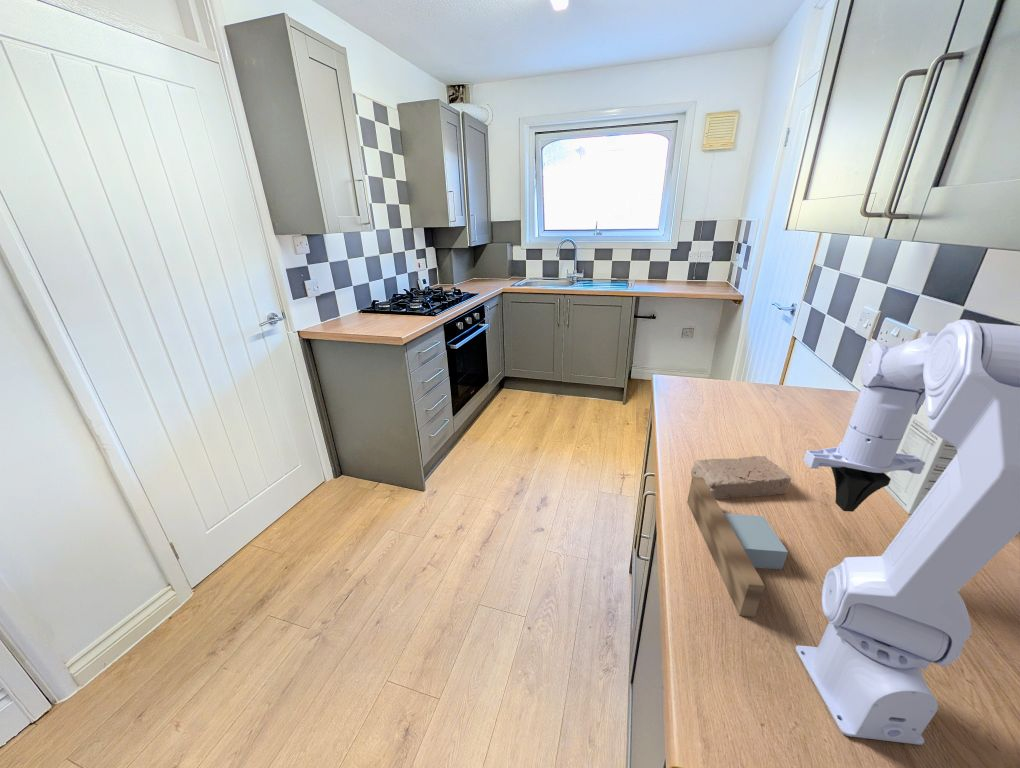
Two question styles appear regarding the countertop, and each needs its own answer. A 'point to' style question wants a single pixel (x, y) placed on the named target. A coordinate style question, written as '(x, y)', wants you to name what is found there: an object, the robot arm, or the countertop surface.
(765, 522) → the grey block
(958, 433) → the robot arm
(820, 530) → the countertop surface
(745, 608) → the fence board
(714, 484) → the brick
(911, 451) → the supplement box
